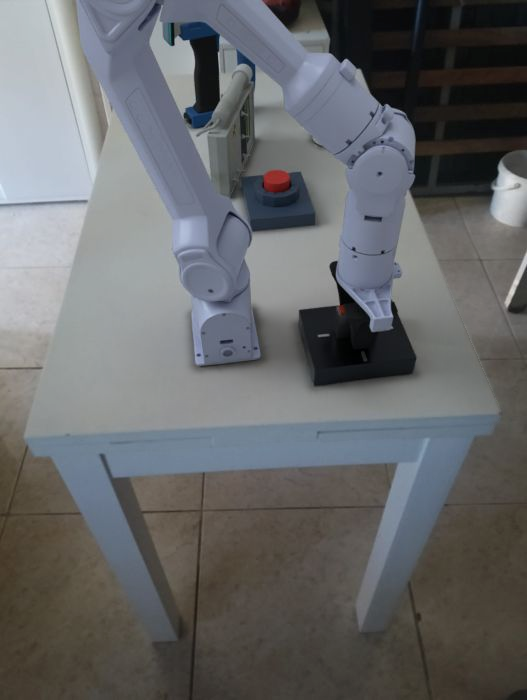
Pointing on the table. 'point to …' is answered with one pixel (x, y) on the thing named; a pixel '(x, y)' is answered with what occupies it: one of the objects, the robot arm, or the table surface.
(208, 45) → the handheld scanner
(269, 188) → the power button
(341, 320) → the dial
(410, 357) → the control panel
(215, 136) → the geiger counter
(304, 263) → the table surface
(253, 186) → the button box
